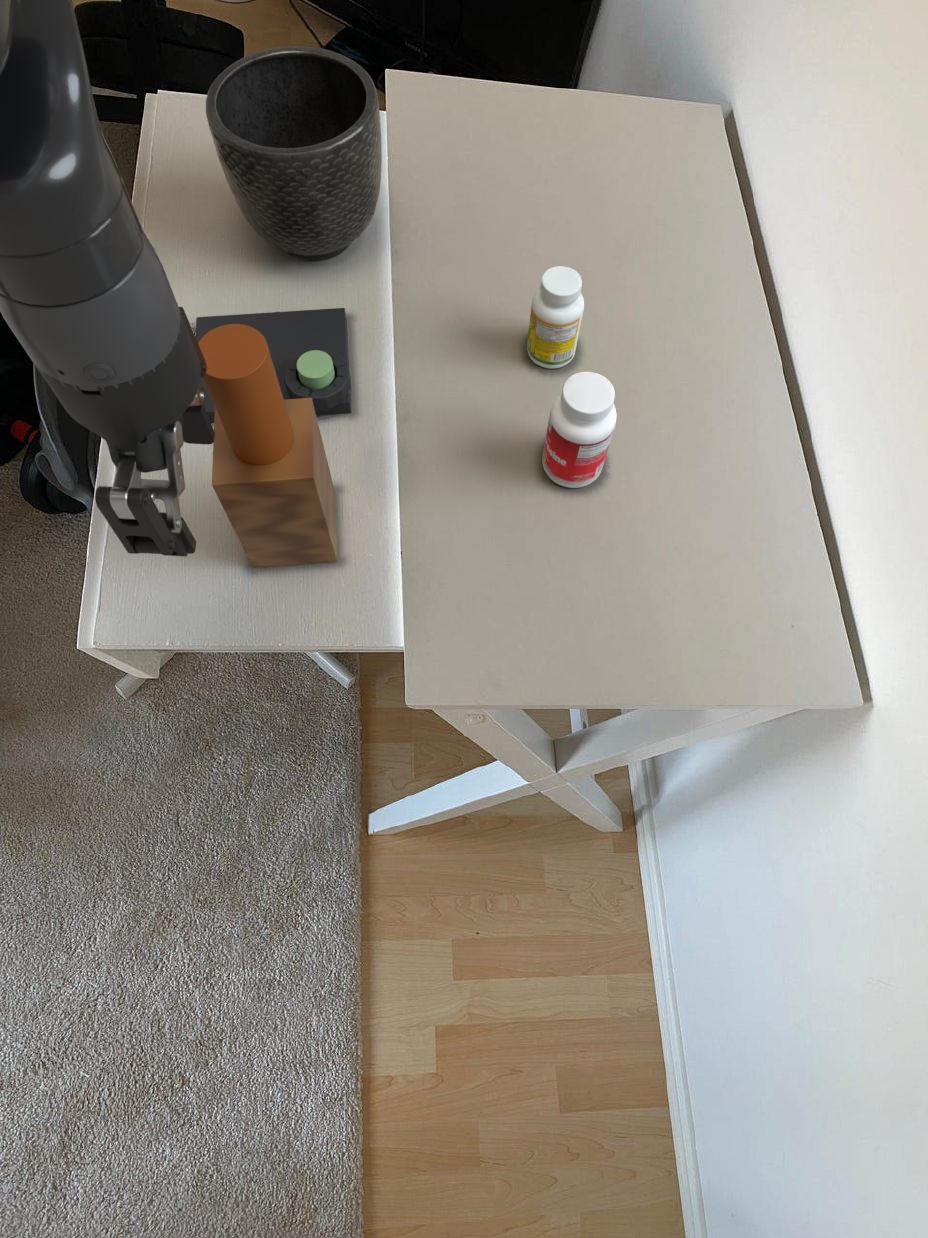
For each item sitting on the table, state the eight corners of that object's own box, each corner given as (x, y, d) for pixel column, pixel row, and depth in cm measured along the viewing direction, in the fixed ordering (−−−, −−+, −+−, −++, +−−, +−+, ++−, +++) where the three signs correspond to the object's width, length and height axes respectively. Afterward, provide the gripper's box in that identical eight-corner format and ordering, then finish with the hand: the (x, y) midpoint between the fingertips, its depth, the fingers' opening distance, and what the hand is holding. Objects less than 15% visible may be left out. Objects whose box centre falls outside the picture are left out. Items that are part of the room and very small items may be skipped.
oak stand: (252, 568, 75) (211, 485, 62) (253, 497, 78) (214, 403, 65) (337, 561, 75) (313, 477, 62) (334, 491, 78) (311, 397, 65)
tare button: (299, 390, 79) (296, 378, 78) (299, 363, 81) (296, 350, 79) (335, 388, 80) (333, 376, 78) (334, 360, 81) (332, 348, 79)
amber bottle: (231, 467, 62) (193, 381, 53) (232, 417, 64) (196, 325, 55) (294, 463, 63) (267, 376, 54) (293, 412, 65) (267, 321, 56)
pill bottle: (534, 446, 81) (545, 370, 71) (591, 434, 81) (610, 358, 71) (551, 495, 78) (566, 425, 68) (610, 483, 79) (633, 412, 69)
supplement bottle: (562, 377, 84) (575, 308, 76) (517, 358, 85) (525, 288, 77) (583, 343, 86) (597, 272, 78) (539, 325, 87) (548, 253, 79)
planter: (363, 301, 89) (346, 169, 74) (220, 271, 90) (175, 135, 76) (407, 199, 95) (399, 60, 81) (274, 173, 97) (242, 31, 82)
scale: (195, 429, 81) (185, 407, 78) (200, 328, 87) (191, 303, 83) (353, 418, 82) (349, 396, 79) (348, 318, 87) (344, 294, 84)
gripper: (54, 209, 41) (153, 404, 56) (-15, 438, 36) (114, 585, 51) (199, 218, 41) (259, 409, 56) (152, 447, 36) (231, 590, 51)
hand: (190, 492), depth 54 cm, fingers open, 8 cm apart
